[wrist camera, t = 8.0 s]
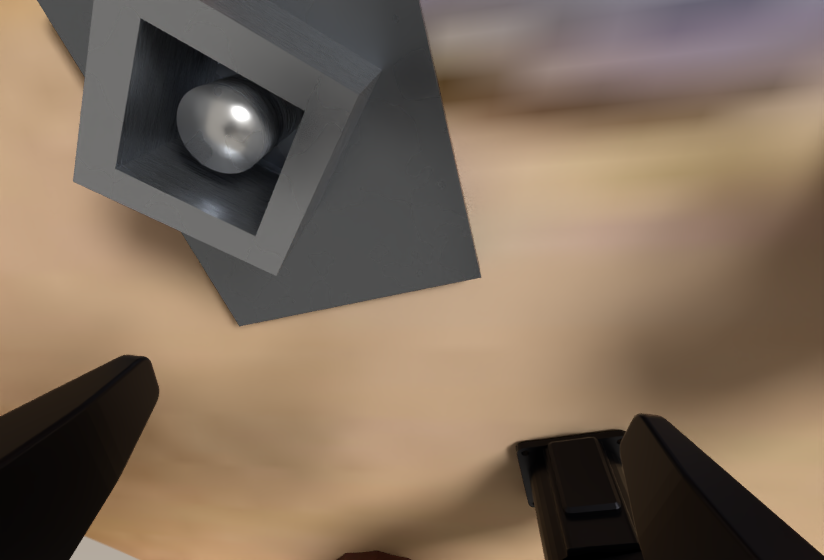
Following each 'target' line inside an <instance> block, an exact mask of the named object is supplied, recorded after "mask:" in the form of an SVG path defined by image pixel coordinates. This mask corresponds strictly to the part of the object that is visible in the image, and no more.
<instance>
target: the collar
mask: <svg viewBox="0 0 824 560" xmlns="http://www.w3.org/2000/svg"><path fill="white" fill-rule="evenodd" d="M219 63H221V64H223V65H224V66H226V67H228V68H230V69H231V70H233V71H235V72H237V73H238V74H240V75H242V76H244V77H245V78H247V79H249V80H251V81H253V82H254V83H256V84H258V85H260V86H261V87H263V88H265V89H267V90H268V91H270V92H272V93H274V94H275V95H277V96H279V97H281V98H283V99H284V100H286V101H288V102H290V103H291V104H293V105H295V106H297V107H298V108H300V109H302V110H304V111H305V113H304V115H303V118H302V120H301V123H300V125H299V128H298V130H297V133H296V135H295V138H294V140H293V143H292V145H291V148H290V150H289V153H288V155H287V158H286V160H285V163H284V166H283V168H280V167H278V166H276V165H274V164H272V163H270V162H269V161H267V160H265V159H263V158H261V159H260V160H259V161H258V162H257V163H255V164H254V165H253V166H252V167H251V168H249V169H247V170H246V171H243V172H240V173H233V174H229V173H221V172H218V171H215V170H212V169H210V168H208V167H206V166H205V165H203V164H202V163H200V162H199V161H198V160H197V159H196V158H195V157H194V156H193V155H192V154H191V153H190V152H189V151H188V149H187V148H186V146H185V145H184V143H183V141H182V139H181V137H180V134H179V131H178V127H177V109H178V106H179V103H180V101H181V99H182V98H183V96H184V95H185V94H186V93H187V92H188V91H190V90H191V89H193V88H195V87H198V86H201V85H204V84H207V83H210V82H213V81H214V79H215V75H216V71H217V68H218V64H219ZM381 71H382V70H381V69H380V68H378V67H376V66H375V65H373V64H371V63H370V62H368V61H367V60H365V59H363V58H362V57H360V56H358V55H357V54H355V53H354V52H352V51H350V50H349V49H347V48H346V47H344V46H342V45H341V44H339V43H337V42H336V41H334V40H333V39H331V38H329V37H328V36H326V35H324V34H323V33H321V32H320V31H318V30H316V29H315V28H313V27H311V26H310V25H308V24H307V23H305V22H303V21H302V20H300V19H299V18H297V17H295V16H294V15H292V14H290V13H289V12H287V11H286V10H284V9H282V8H281V7H279V6H277V5H276V4H274V3H273V2H271V1H269V0H94V2H93V10H92V19H91V28H90V37H89V46H88V54H87V63H86V72H85V81H84V90H83V98H82V107H81V116H80V125H79V134H78V142H77V151H76V160H75V169H74V178H73V182H75V183H77V184H79V185H82V186H84V187H86V188H88V189H90V190H92V191H94V192H97V193H99V194H101V195H103V196H105V197H107V198H109V199H112V200H114V201H116V202H118V203H120V204H122V205H125V206H127V207H129V208H131V209H133V210H135V211H137V212H140V213H142V214H144V215H146V216H148V217H150V218H152V219H155V220H157V221H159V222H161V223H163V224H165V225H168V226H170V227H172V228H174V229H176V230H178V231H180V232H183V233H185V234H187V235H189V236H191V237H193V238H196V239H198V240H200V241H202V242H204V243H206V244H208V245H211V246H213V247H215V248H217V249H219V250H221V251H223V252H226V253H228V254H230V255H232V256H234V257H236V258H239V259H241V260H243V261H245V262H247V263H249V264H251V265H254V266H256V267H258V268H260V269H262V270H264V271H266V272H269V273H271V274H273V275H275V276H277V274H278V272H279V271H280V269H281V267H282V266H283V264H284V263H285V261H286V259H287V258H288V256H289V254H290V253H291V251H292V249H293V248H294V246H295V244H296V243H297V241H298V240H299V238H300V236H301V235H302V233H303V231H304V230H305V228H306V226H307V225H308V223H309V221H310V220H311V218H312V217H313V215H314V213H315V212H316V210H317V207H318V205H319V203H320V201H321V199H322V197H323V195H324V192H325V190H326V188H327V186H328V184H329V182H330V180H331V178H332V175H333V173H334V171H335V169H336V167H337V165H338V163H339V161H340V158H341V156H342V154H343V152H344V150H345V148H346V146H347V144H348V141H349V139H350V137H351V135H352V133H353V131H354V129H355V126H356V124H357V122H358V120H359V118H360V116H361V114H362V112H363V109H364V107H365V105H366V103H367V101H368V99H369V97H370V95H371V92H372V90H373V88H374V86H375V84H376V82H377V80H378V77H379V75H380V73H381Z"/></svg>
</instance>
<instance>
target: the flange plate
mask: <svg viewBox="0 0 824 560" xmlns="http://www.w3.org/2000/svg"><path fill="white" fill-rule="evenodd" d="M37 1H38V2H39V4H40V6H41V7H42V9H43V11H44V12H45V14H46V15H47V17H48V19H49V20H50V22H51V23H52V25H53V27H54V28H55V30H56V31H57V33H58V35H59V36H60V38H61V40H62V41H63V43H64V44H65V46H66V48H67V49H68V51H69V52H70V54H71V56H72V57H73V59H74V60H75V62H76V64H77V65H78V67H79V69H80V70H81V72H82V73H83V75H84V77H85V72H86V63H87V54H88V46H89V37H90V28H91V19H92V10H93V2H94V0H37ZM269 1H271V2H273V3H274V4H276V5H277V6H279V7H281V8H282V9H284V10H286V11H287V12H289V13H290V14H292V15H294V16H295V17H297V18H299V19H300V20H302V21H303V22H305V23H307V24H308V25H310V26H311V27H313V28H315V29H316V30H318V31H320V32H321V33H323V34H324V35H326V36H328V37H329V38H331V39H333V40H334V41H336V42H337V43H339V44H341V45H342V46H344V47H346V48H347V49H349V50H350V51H352V52H354V53H355V54H357V55H358V56H360V57H362V58H363V59H365V60H367V61H368V62H370V63H371V64H373V65H375V66H376V67H378V68H380V69H381V70H382V71H381V73H380V75H379V77H378V80H377V82H376V84H375V86H374V88H373V90H372V92H371V95H370V97H369V99H368V101H367V103H366V105H365V107H364V109H363V112H362V114H361V116H360V118H359V120H358V122H357V124H356V126H355V129H354V131H353V133H352V135H351V137H350V139H349V141H348V144H347V146H346V148H345V150H344V152H343V154H342V156H341V158H340V161H339V163H338V165H337V167H336V169H335V171H334V173H333V175H332V178H331V180H330V182H329V184H328V186H327V188H326V190H325V192H324V195H323V197H322V199H321V201H320V203H319V205H318V207H317V210H316V212H315V213H314V215H313V217H312V218H311V220H310V221H309V223H308V225H307V226H306V228H305V230H304V231H303V233H302V235H301V236H300V238H299V240H298V241H297V243H296V244H295V246H294V248H293V249H292V251H291V253H290V254H289V256H288V258H287V259H286V261H285V263H284V264H283V266H282V267H281V269H280V271H279V272H278V274H277V276H275V275H273V274H271V273H269V272H266V271H264V270H262V269H260V268H258V267H256V266H254V265H251V264H249V263H247V262H245V261H243V260H241V259H239V258H236V257H234V256H232V255H230V254H228V253H226V252H223V251H221V250H219V249H217V248H215V247H213V246H211V245H208V244H206V243H204V242H202V241H200V240H198V239H196V238H193V237H191V236H189V235H187V234H185V233H183V232H181V233H182V234H183V236H184V238H185V239H186V241H187V242H188V244H189V246H190V247H191V249H192V250H193V252H194V254H195V255H196V257H197V259H198V260H199V262H200V263H201V265H202V267H203V268H204V270H205V271H206V273H207V275H208V276H209V278H210V279H211V281H212V283H213V284H214V286H215V288H216V289H217V291H218V292H219V294H220V296H221V297H222V299H223V300H224V302H225V304H226V305H227V307H228V308H229V310H230V312H231V313H232V315H233V317H234V318H235V320H236V321H237V323H238V325H239V326H243V325H248V324H253V323H258V322H263V321H268V320H273V319H278V318H283V317H288V316H292V315H297V314H302V313H307V312H312V311H317V310H322V309H327V308H332V307H337V306H342V305H347V304H352V303H357V302H362V301H367V300H372V299H377V298H382V297H387V296H392V295H396V294H401V293H406V292H411V291H416V290H421V289H426V288H431V287H436V286H441V285H446V284H451V283H456V282H461V281H466V280H471V279H476V278H481V273H480V267H479V262H478V258H477V253H476V249H475V245H474V240H473V236H472V231H471V227H470V222H469V218H468V213H467V209H466V204H465V200H464V196H463V191H462V187H461V182H460V178H459V173H458V169H457V164H456V160H455V156H454V151H453V147H452V142H451V138H450V133H449V129H448V124H447V120H446V115H445V111H444V107H443V102H442V98H441V93H440V89H439V84H438V80H437V75H436V71H435V66H434V62H433V58H432V53H431V49H430V44H429V40H428V35H427V31H426V26H425V22H424V18H423V13H422V9H421V4H420V0H269ZM304 113H305V111H304V110H302V109H300V108H298V107H297V106H295V105H293V104H291V103H290V102H288V101H286V100H284V99H283V98H281V97H279V96H277V95H275V94H274V93H272V92H270V91H268V90H267V89H265V88H263V87H261V86H260V85H258V84H256V83H254V82H253V81H251V80H249V79H247V78H245V77H244V76H242V75H240V74H238V73H237V72H235V71H233V70H231V69H230V68H228V67H226V66H224V65H223V64H221V63H219V64H218V68H217V71H216V75H215V79H214V81H213V82H210V83H207V84H204V85H201V86H198V87H195V88H193V89H191V90H190V91H188V92H187V93H186V94H185V95H184V96H183V98H182V99H181V101H180V103H179V106H178V109H177V127H178V131H179V134H180V137H181V139H182V141H183V143H184V145H185V146H186V148H187V149H188V151H189V152H190V153H191V154H192V155H193V156H194V157H195V158H196V159H197V160H198V161H199V162H200V163H202V164H203V165H205V166H206V167H208V168H210V169H212V170H215V171H218V172H221V173H229V174H233V173H240V172H243V171H246V170H247V169H249V168H251V167H252V166H253V165H254V164H255V163H257V162H258V161H259V160H260V159H261V158H263V159H265V160H267V161H269V162H270V163H272V164H274V165H276V166H278V167H280V168H283V166H284V163H285V160H286V158H287V155H288V153H289V150H290V148H291V145H292V143H293V140H294V138H295V135H296V133H297V130H298V128H299V125H300V123H301V120H302V118H303V115H304Z"/></svg>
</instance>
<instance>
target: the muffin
mask: <svg viewBox="0 0 824 560" xmlns="http://www.w3.org/2000/svg"><path fill="white" fill-rule="evenodd" d="M338 560H410V559H409V558H404V557H399V556H394V555H390V554H387V553H384V552H380V551H371V552H363V553H345V554H344V555H343V556H341V557H340V558H339V559H338Z"/></svg>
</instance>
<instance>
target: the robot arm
mask: <svg viewBox="0 0 824 560" xmlns="http://www.w3.org/2000/svg"><path fill="white" fill-rule="evenodd" d="M158 397H159V386H158V383H157V379H156V376H155V373H154V369H153V366H152V363H151V361H150V360H149V359H148V358H147V357H144V356H135V355H123V356H120V357H118V358H116V359H114V360H112V361H110V362H108V363H106V364H104V365H102V366H100V367H98V368H96V369H94V370H92V371H90V372H88V373H86V374H84V375H82V376H80V377H78V378H76V379H74V380H72V381H70V382H68V383H66V384H64V385H62V386H60V387H58V388H56V389H54V390H52V391H50V392H48V393H46V394H44V395H42V396H40V397H38V398H36V399H34V400H32V401H30V402H28V403H26V404H24V405H22V406H20V407H18V408H16V409H14V410H12V411H10V412H8V413H6V414H4V415H2V416H0V560H69V559H70V558H71V556H72V555H73V553H74V551H75V550H76V548H77V546H78V545H79V543H80V542H81V540H82V538H83V537H84V535H85V534H86V532H87V530H88V529H89V527H90V525H91V524H92V522H93V521H94V519H95V517H96V516H97V514H98V512H99V511H100V509H101V508H102V506H103V504H104V503H105V501H106V499H107V498H108V496H109V495H110V493H111V491H112V490H113V488H114V486H115V484H116V483H117V481H118V479H119V477H120V476H121V474H122V472H123V470H124V468H125V466H126V464H127V462H128V460H129V458H130V456H131V454H132V452H133V450H134V448H135V446H136V444H137V442H138V440H139V437H140V435H141V433H142V431H143V429H144V427H145V425H146V423H147V421H148V419H149V417H150V415H151V413H152V411H153V409H154V407H155V405H156V403H157V400H158ZM516 451H517V456H518V461H519V465H520V469H521V473H522V478H523V482H524V486H525V491H526V495H527V499H528V503H529V505H530V506H531V507H535V511H536V516H537V521H538V526H539V531H540V537H541V542H542V547H543V552H544V557H545V560H824V556H823V555H822V554H821V553H820V552H819V551H818V550H816V549H815V548H814V547H813V546H812V545H811V544H809V543H808V542H807V541H806V540H805V539H804V538H803V537H801V536H800V535H799V534H798V533H797V532H796V531H794V530H793V529H792V528H791V527H790V526H789V525H787V524H786V523H785V522H784V521H783V520H782V519H781V518H779V517H778V516H777V515H776V514H775V513H774V512H772V511H771V510H770V509H769V508H768V507H767V506H766V505H764V504H763V503H762V502H761V501H760V500H759V499H757V498H756V497H755V496H754V495H753V494H752V493H750V492H749V491H748V490H747V489H746V488H745V487H744V486H742V485H741V484H740V483H739V482H738V481H737V480H735V479H734V478H733V477H732V476H731V475H730V474H729V473H727V472H726V471H725V470H724V469H723V468H722V467H720V466H719V465H718V464H717V463H716V462H715V461H713V460H712V459H711V458H710V457H709V456H708V455H707V454H705V453H704V452H703V451H702V450H701V449H700V448H698V447H697V446H696V445H695V444H694V443H693V442H692V441H690V440H689V439H688V438H687V437H686V436H685V435H683V434H682V433H681V432H680V431H679V430H678V429H676V428H675V427H674V426H673V425H672V424H671V423H670V422H668V421H667V420H666V419H665V418H663V417H661V416H659V415H651V414H642V413H640V414H637V415H636V416H635V417H634V418H633V420H632V422H631V423H630V425H629V427H628V429H627V431H623V430H617V431H609V432H601V433H593V434H585V435H577V436H569V437H561V438H553V439H546V440H538V441H530V442H522V443H519V444H518V445H517V446H516Z"/></svg>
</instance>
